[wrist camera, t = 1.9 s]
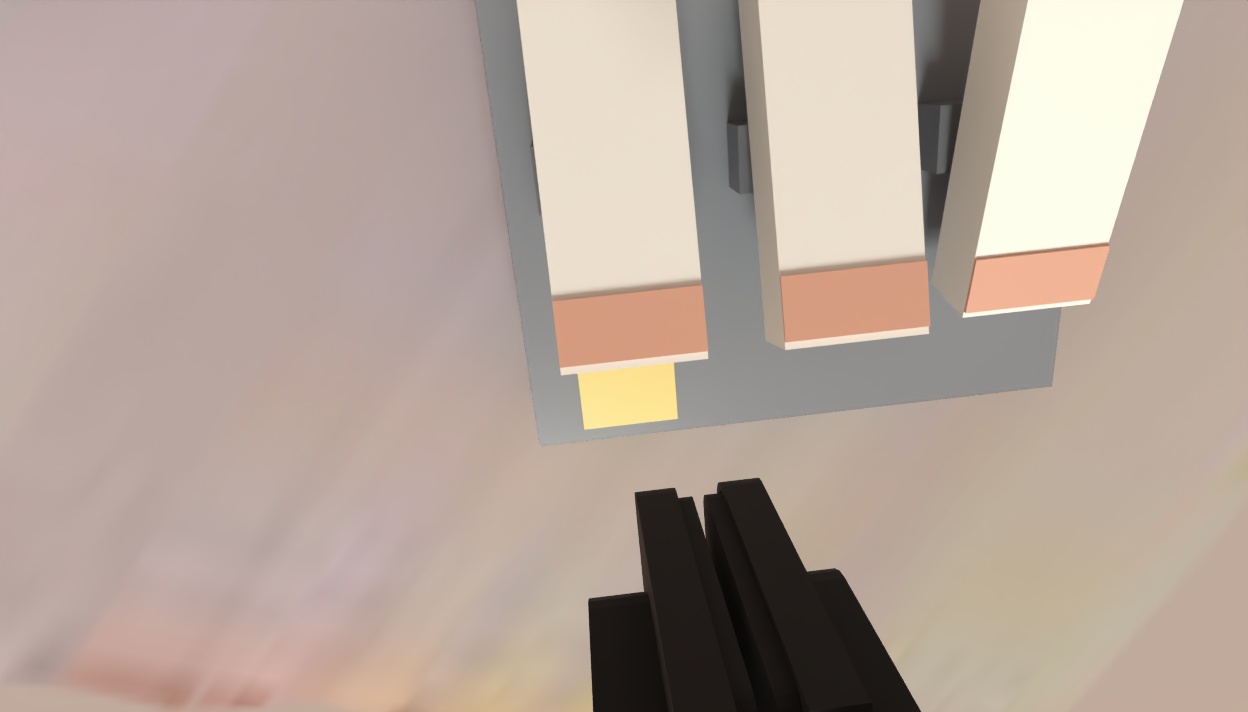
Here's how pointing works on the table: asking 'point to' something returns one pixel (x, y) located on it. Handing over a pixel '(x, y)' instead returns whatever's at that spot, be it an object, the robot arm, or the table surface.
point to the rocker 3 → (1046, 148)
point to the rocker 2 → (835, 169)
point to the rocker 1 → (614, 181)
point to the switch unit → (752, 258)
